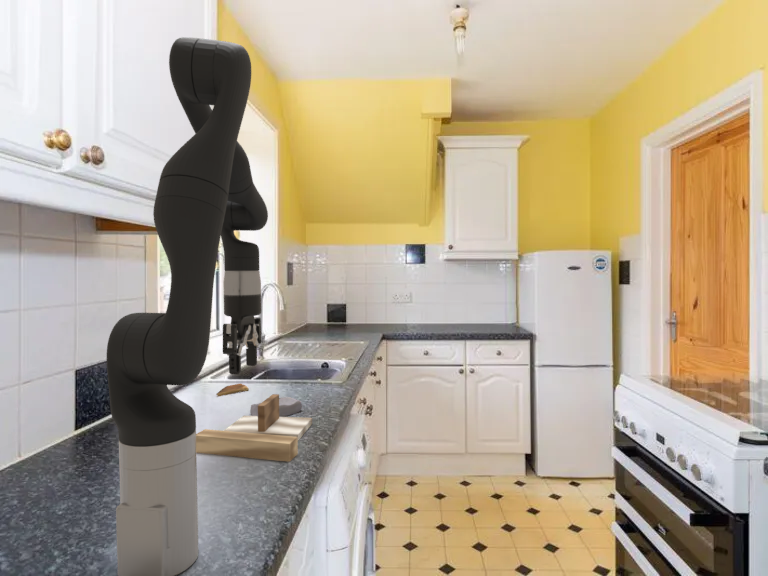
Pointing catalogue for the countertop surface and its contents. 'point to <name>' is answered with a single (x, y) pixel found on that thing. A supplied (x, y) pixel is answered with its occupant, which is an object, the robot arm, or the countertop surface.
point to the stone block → (282, 407)
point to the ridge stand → (271, 421)
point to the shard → (232, 389)
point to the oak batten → (247, 445)
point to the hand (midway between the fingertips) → (243, 369)
